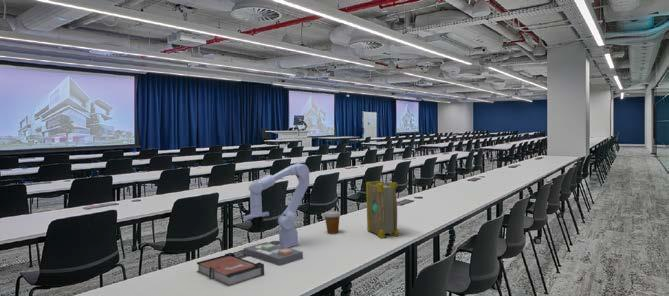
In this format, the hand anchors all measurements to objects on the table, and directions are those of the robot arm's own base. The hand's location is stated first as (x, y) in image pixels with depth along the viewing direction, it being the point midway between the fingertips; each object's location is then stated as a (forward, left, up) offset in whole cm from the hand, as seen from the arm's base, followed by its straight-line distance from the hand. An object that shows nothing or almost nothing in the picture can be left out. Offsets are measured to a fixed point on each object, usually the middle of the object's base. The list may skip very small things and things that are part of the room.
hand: (257, 232), depth 212 cm
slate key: (+2, +19, -8) cm, 20 cm away
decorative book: (-64, +31, -9) cm, 72 cm away
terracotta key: (+2, +25, -7) cm, 26 cm away
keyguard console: (+2, +15, -9) cm, 18 cm away
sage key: (+2, +12, -7) cm, 14 cm away
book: (+29, +20, -10) cm, 37 cm away
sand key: (+2, +6, -8) cm, 10 cm away
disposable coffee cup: (-49, +6, -9) cm, 50 cm away
